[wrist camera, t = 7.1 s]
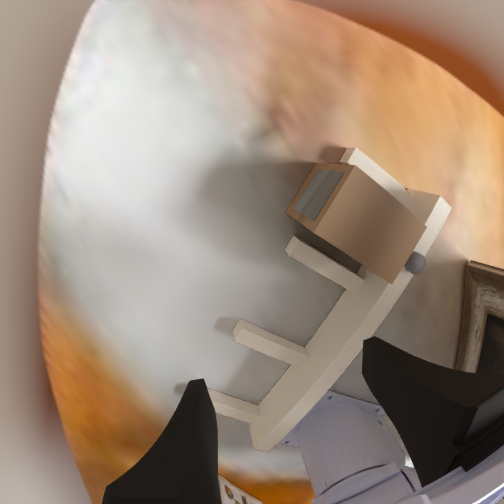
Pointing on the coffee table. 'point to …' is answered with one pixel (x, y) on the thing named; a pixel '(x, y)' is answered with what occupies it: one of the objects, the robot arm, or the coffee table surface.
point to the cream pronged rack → (329, 321)
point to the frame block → (357, 217)
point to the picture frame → (482, 321)
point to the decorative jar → (234, 493)
